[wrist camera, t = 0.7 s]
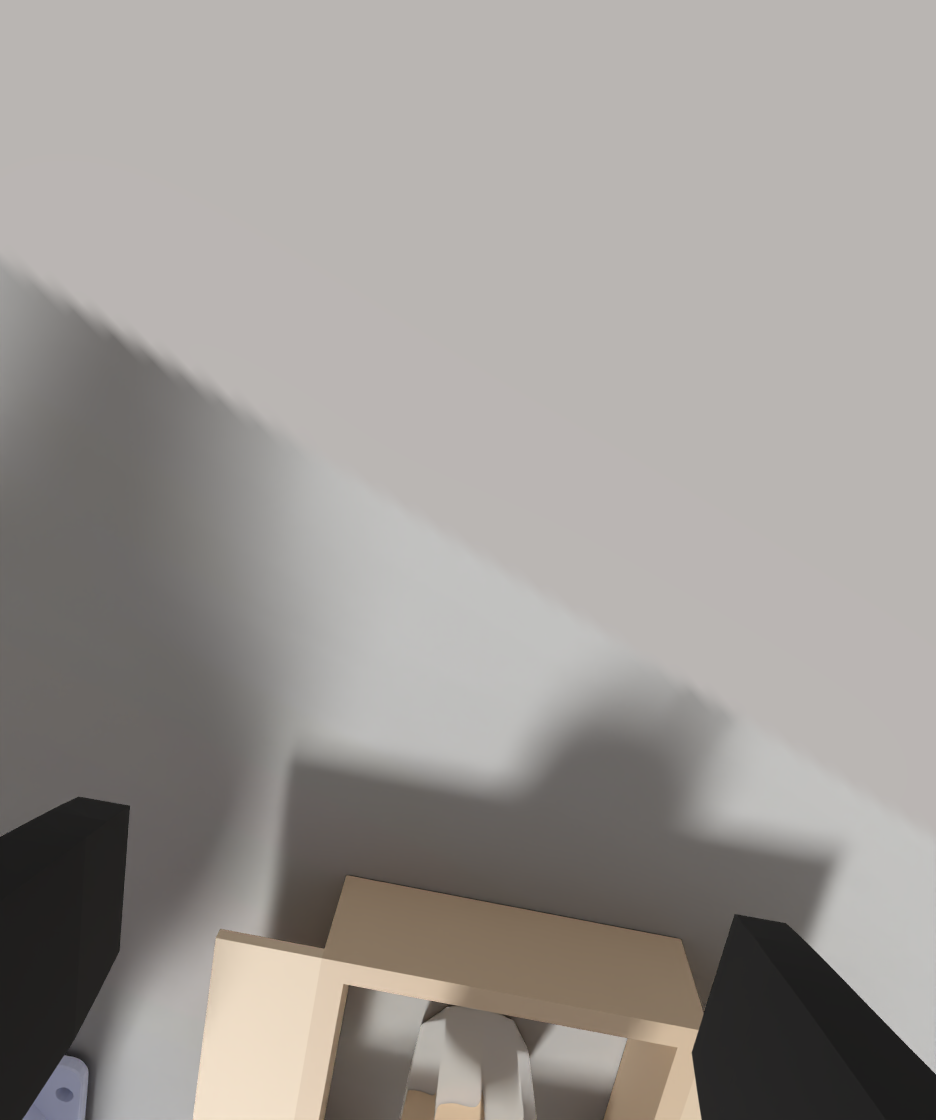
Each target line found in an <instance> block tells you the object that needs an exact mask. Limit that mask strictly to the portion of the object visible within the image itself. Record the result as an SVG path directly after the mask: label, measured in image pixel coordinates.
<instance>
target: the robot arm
mask: <svg viewBox="0 0 936 1120" xmlns="http://www.w3.org/2000/svg"><path fill="white" fill-rule="evenodd" d="M129 810H130V806H128V805H122V804H116V803H111V802H105V801H100V800H94V799H88V798H83V797H77V798H75V799H73V800H71V801H69V802H67V803H64V804H62V805H60V806H58V807H56V808H54V809H52V810H50V811H49V812H47V813H45V814H43V815H41V816H39V817H37V818H35V819H33V820H31V821H29V822H28V823H26V824H24V825H22V826H20V827H18V828H16V829H14V830H13V831H11V832H9V833H7V834H5V835H3V836H1V837H0V1120H85V1113H86V1100H87V1088H88V1076H89V1073H88V1068H87V1066H86V1065H85V1063H84V1062H83V1061H81V1060H80V1059H78V1058H75V1057H71V1056H66V1055H65V1053H66V1052H67V1050H68V1048H69V1047H70V1045H71V1044H72V1042H73V1041H74V1039H75V1037H76V1035H77V1033H78V1031H79V1029H80V1028H81V1026H82V1024H83V1022H84V1020H85V1018H86V1016H87V1014H88V1012H89V1010H90V1008H91V1007H92V1005H93V1003H94V1001H95V999H96V997H97V995H98V993H99V991H100V989H101V987H102V985H103V983H104V981H105V979H106V977H107V975H108V973H109V971H110V969H111V967H112V965H113V963H114V961H115V959H116V957H117V955H118V953H119V949H120V935H121V921H122V907H123V893H124V880H125V866H126V852H127V838H128V824H129ZM692 1059H693V1066H694V1073H695V1080H696V1087H697V1094H698V1101H699V1107H700V1113H701V1119H702V1120H936V1074H935V1073H934V1072H933V1071H932V1070H931V1069H930V1068H929V1067H928V1066H927V1065H926V1064H925V1063H924V1062H923V1061H922V1060H921V1059H920V1058H919V1057H918V1056H917V1055H916V1054H915V1053H914V1052H913V1051H912V1050H911V1049H910V1048H909V1047H908V1046H907V1045H906V1044H905V1043H904V1042H903V1041H902V1040H901V1039H900V1038H899V1037H898V1036H897V1035H896V1034H895V1033H894V1032H893V1031H892V1030H891V1029H890V1027H889V1026H888V1025H887V1024H886V1023H885V1022H884V1021H883V1020H882V1019H881V1018H880V1017H879V1016H878V1015H877V1014H876V1013H875V1012H874V1011H873V1010H872V1009H871V1008H870V1007H869V1006H868V1005H867V1004H866V1003H865V1002H864V1001H863V1000H862V999H861V998H860V997H859V996H858V994H857V993H856V992H855V991H854V990H853V989H852V988H851V987H850V986H849V985H848V984H847V983H846V982H845V981H844V980H843V979H842V978H841V977H840V976H839V975H838V974H837V973H836V972H835V971H834V970H833V969H832V968H831V967H830V966H829V965H828V964H827V963H826V962H825V961H824V960H823V959H822V958H821V957H820V956H819V955H818V954H817V953H816V952H815V951H814V950H813V949H812V948H811V947H810V946H809V945H808V944H807V943H806V942H805V941H804V940H803V939H802V938H801V937H800V936H799V935H798V934H797V933H796V932H795V931H794V930H793V929H792V928H790V927H789V926H788V925H787V924H786V923H781V922H775V921H770V920H764V919H759V918H753V917H747V916H742V915H736V914H735V915H734V918H733V922H732V925H731V928H730V931H729V934H728V938H727V941H726V944H725V947H724V950H723V954H722V957H721V960H720V963H719V966H718V970H717V973H716V976H715V979H714V982H713V986H712V989H711V992H710V995H709V998H708V1002H707V1005H706V1008H705V1011H704V1014H703V1018H702V1021H701V1024H700V1027H699V1030H698V1034H697V1037H696V1040H695V1043H694V1046H693V1050H692Z"/></svg>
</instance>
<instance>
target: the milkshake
mask: <svg viewBox="0 0 936 1120" xmlns="http://www.w3.org/2000/svg"><path fill="white" fill-rule="evenodd" d="M399 1120H537V1116H536V1108H535V1100H534V1092H533V1083H532V1075H531V1067H530V1059H529V1052H528V1048H527V1046H526V1044H525V1042H524V1040H523V1038H522V1036H521V1034H520V1032H519V1030H518V1028H517V1026H516V1024H515V1022H514V1021H513V1020H511V1019H509V1018H507V1017H505V1016H503V1015H501V1014H499V1013H493V1012H488V1011H483V1010H478V1009H472V1008H467V1007H462V1006H448V1007H446V1008H445V1009H443V1010H442V1011H440V1012H439V1013H438V1014H436V1015H435V1016H433V1017H432V1018H430V1019H429V1020H427V1021H426V1022H424V1023H423V1024H422V1025H421V1026H420V1030H419V1034H418V1038H417V1041H416V1045H415V1049H414V1053H413V1056H412V1061H411V1065H410V1070H409V1075H408V1080H407V1084H406V1089H405V1094H404V1099H403V1104H402V1109H401V1113H400V1118H399Z"/></svg>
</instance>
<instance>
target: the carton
mask: <svg viewBox="0 0 936 1120" xmlns="http://www.w3.org/2000/svg"><path fill="white" fill-rule="evenodd" d="M349 985H352V986H357V987H362V988H367V989H373V990H378V991H383V992H388V993H394V994H399V995H404V996H409V997H415V998H420V999H425V1000H430V1001H436V1002H441V1003H446V1004H451V1005H457V1006H462V1007H467V1008H472V1009H478V1010H483V1011H488V1012H493V1013H499V1014H504V1015H509V1016H514V1017H520V1018H525V1019H530V1020H535V1021H541V1022H546V1023H551V1024H556V1025H562V1026H567V1027H572V1028H577V1029H583V1030H588V1031H593V1032H598V1033H604V1034H609V1035H614V1036H619V1037H625V1038H628V1040H627V1043H626V1046H625V1050H624V1053H623V1056H622V1060H621V1063H620V1066H619V1070H618V1073H617V1076H616V1079H615V1083H614V1086H613V1089H612V1093H611V1096H610V1099H609V1103H608V1106H607V1109H606V1112H605V1116H604V1119H603V1120H702V1119H701V1113H700V1107H699V1101H698V1094H697V1087H696V1080H695V1073H694V1066H693V1059H692V1050H693V1046H694V1043H695V1040H696V1037H697V1034H698V1030H699V1027H700V1024H701V1021H702V1018H703V1014H704V1012H703V1009H702V1006H701V1003H700V999H699V996H698V993H697V990H696V986H695V983H694V980H693V977H692V973H691V970H690V967H689V964H688V960H687V957H686V954H685V951H684V947H683V944H682V941H681V939H677V938H672V937H667V936H662V935H656V934H651V933H646V932H641V931H635V930H630V929H625V928H620V927H615V926H609V925H604V924H599V923H594V922H588V921H583V920H578V919H573V918H568V917H562V916H557V915H552V914H547V913H541V912H536V911H531V910H526V909H521V908H515V907H510V906H505V905H500V904H494V903H489V902H484V901H479V900H474V899H468V898H463V897H458V896H453V895H447V894H442V893H437V892H432V891H427V890H421V889H416V888H411V887H406V886H400V885H395V884H390V883H385V882H380V881H374V880H369V879H364V878H359V877H353V876H348V875H346V878H345V882H344V885H343V888H342V892H341V895H340V899H339V902H338V905H337V909H336V912H335V915H334V919H333V922H332V925H331V929H330V932H329V935H328V939H327V942H326V946H325V949H323V948H318V947H313V946H308V945H302V944H297V943H292V942H287V941H281V940H276V939H271V938H266V937H260V936H255V935H250V934H245V933H239V932H234V931H229V930H224V929H220V930H219V932H218V935H217V937H216V940H215V948H214V956H213V964H212V972H211V980H210V988H209V995H208V1003H207V1011H206V1019H205V1027H204V1035H203V1043H202V1051H201V1059H200V1066H199V1074H198V1082H197V1090H196V1098H195V1106H194V1114H193V1120H324V1119H325V1113H326V1108H327V1102H328V1097H329V1091H330V1086H331V1081H332V1075H333V1070H334V1064H335V1059H336V1053H337V1048H338V1042H339V1037H340V1031H341V1026H342V1020H343V1015H344V1010H345V1004H346V999H347V993H348V988H349Z"/></svg>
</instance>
